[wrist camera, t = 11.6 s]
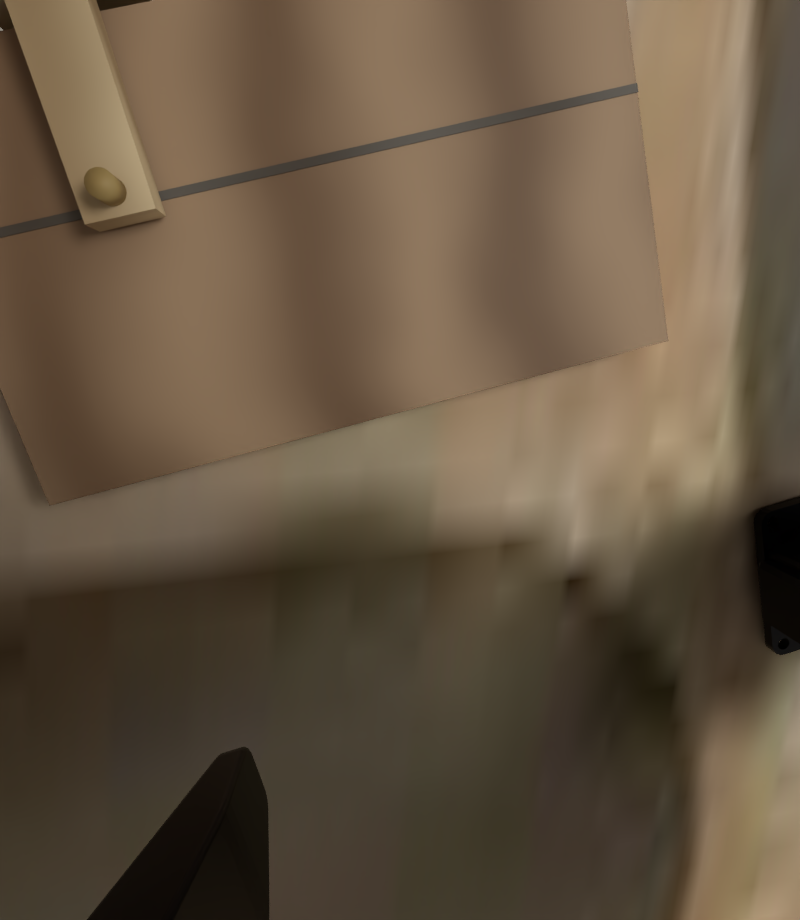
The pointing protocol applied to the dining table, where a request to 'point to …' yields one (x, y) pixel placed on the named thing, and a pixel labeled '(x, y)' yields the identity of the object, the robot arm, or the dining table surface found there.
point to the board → (322, 226)
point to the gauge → (86, 107)
